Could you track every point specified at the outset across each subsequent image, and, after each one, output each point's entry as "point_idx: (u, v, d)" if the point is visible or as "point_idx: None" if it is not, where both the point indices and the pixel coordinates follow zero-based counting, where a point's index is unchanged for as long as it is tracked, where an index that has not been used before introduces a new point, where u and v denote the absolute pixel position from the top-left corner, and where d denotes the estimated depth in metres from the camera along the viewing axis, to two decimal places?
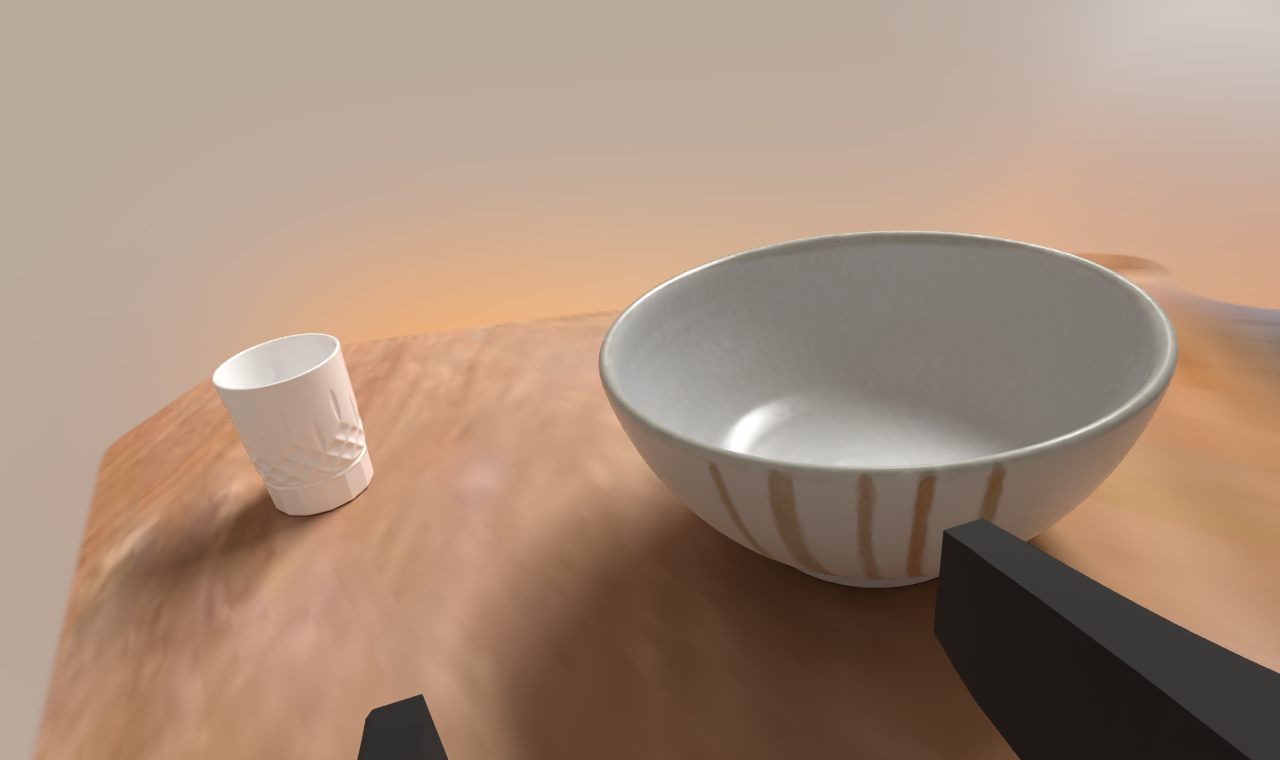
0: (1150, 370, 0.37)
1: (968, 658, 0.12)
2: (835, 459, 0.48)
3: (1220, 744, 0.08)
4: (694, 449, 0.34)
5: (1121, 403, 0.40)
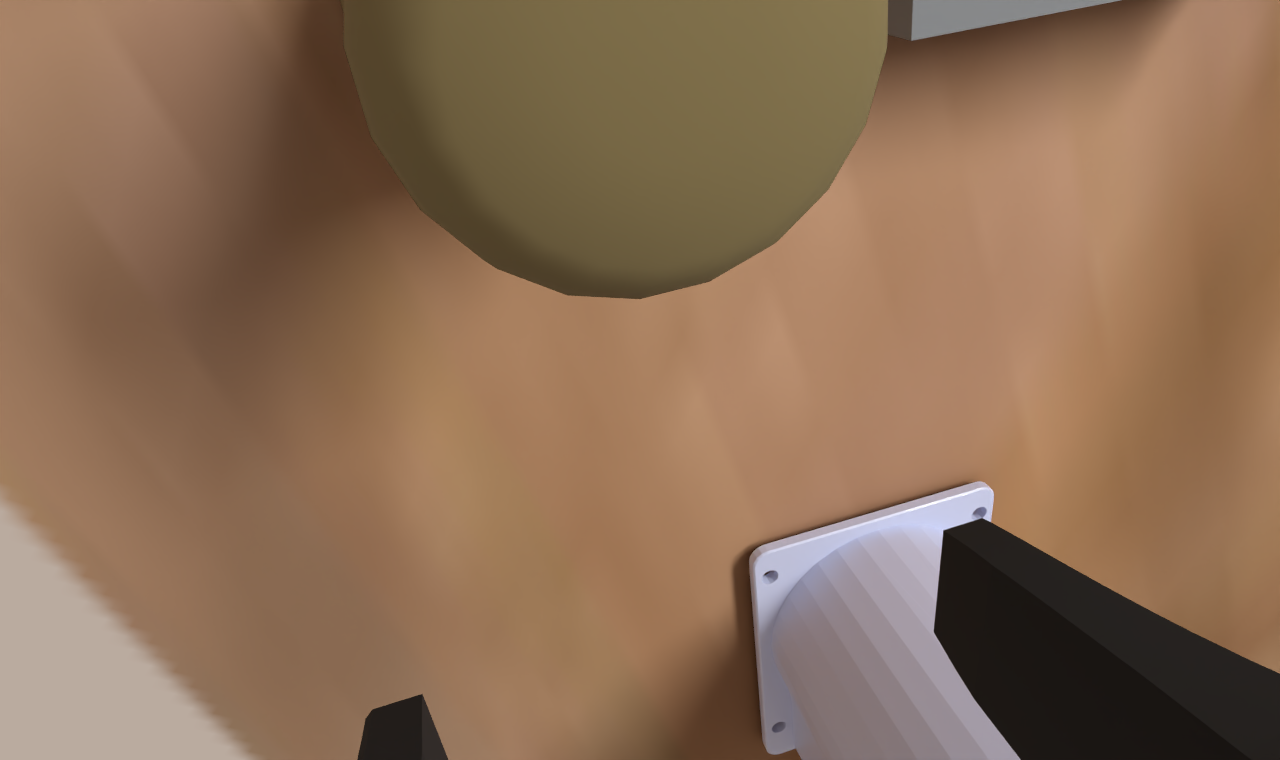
0: None
1: (968, 658, 0.12)
2: None
3: (1219, 743, 0.08)
4: None
5: None
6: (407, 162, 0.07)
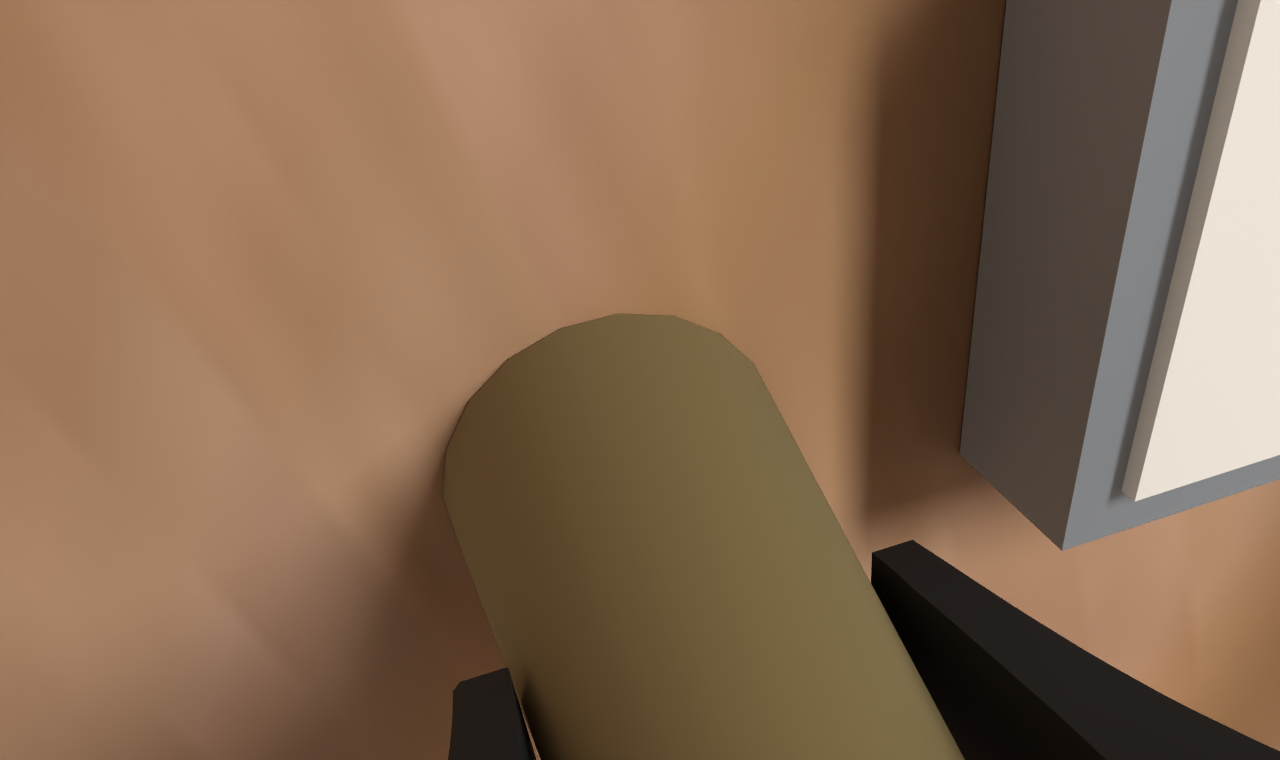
0: None
1: None
2: None
3: None
4: None
5: None
6: None
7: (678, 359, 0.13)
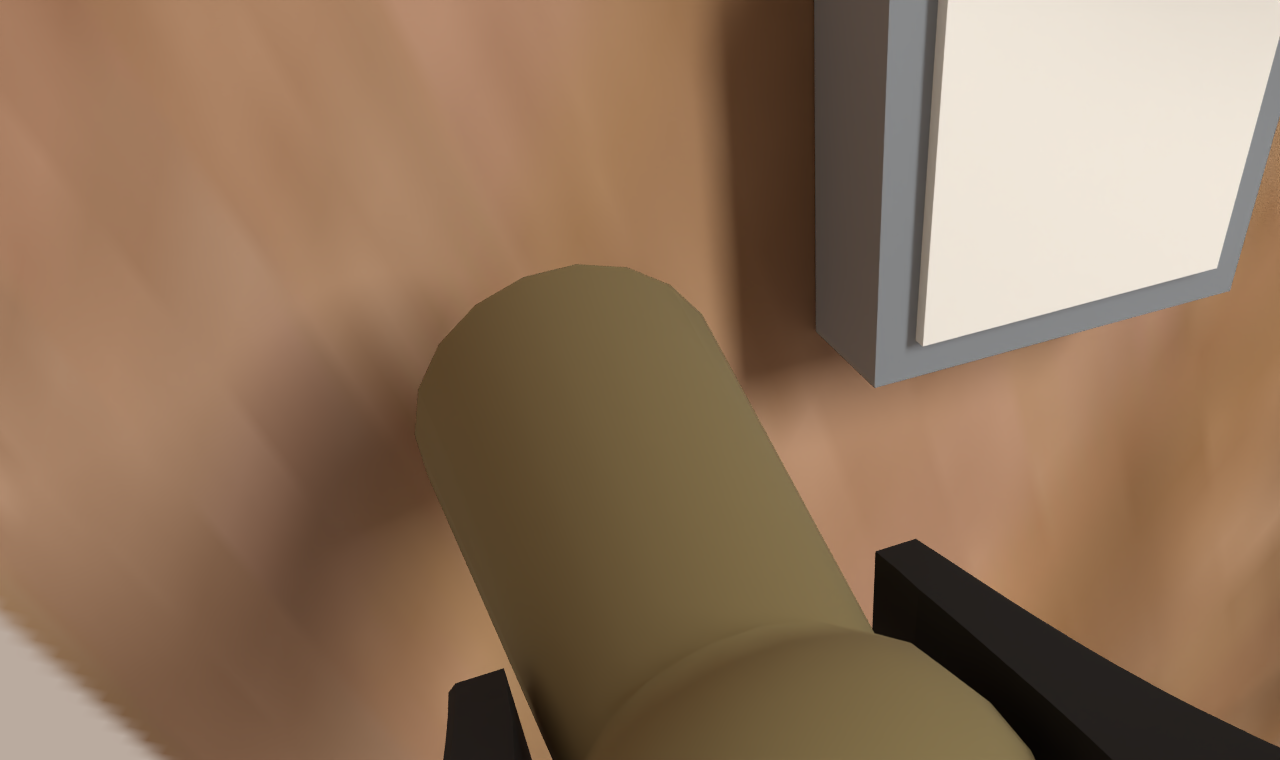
0: None
1: None
2: None
3: None
4: None
5: None
6: None
7: (630, 303, 0.14)
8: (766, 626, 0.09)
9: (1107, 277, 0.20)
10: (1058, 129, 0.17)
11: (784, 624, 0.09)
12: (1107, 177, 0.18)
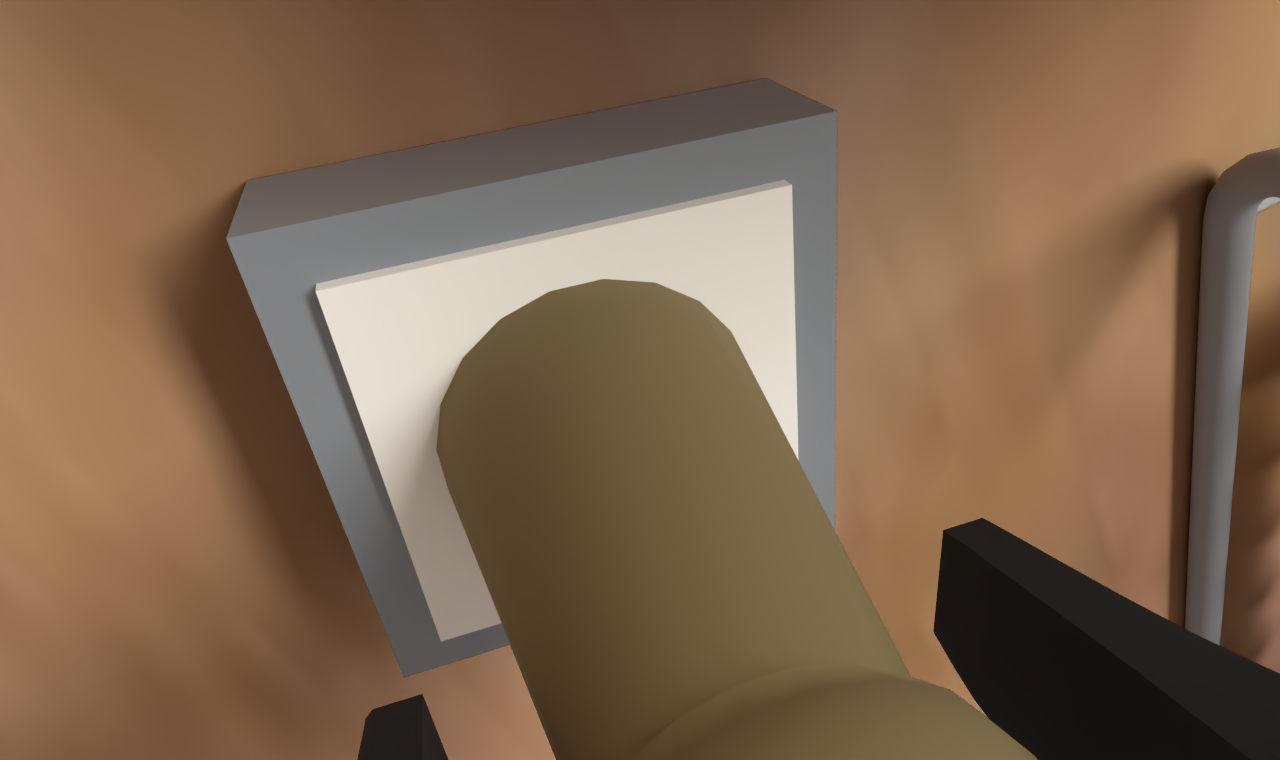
0: None
1: (968, 658, 0.12)
2: None
3: (1219, 744, 0.08)
4: None
5: None
6: None
7: (658, 320, 0.14)
8: (795, 668, 0.08)
9: None
10: None
11: (815, 666, 0.08)
12: None
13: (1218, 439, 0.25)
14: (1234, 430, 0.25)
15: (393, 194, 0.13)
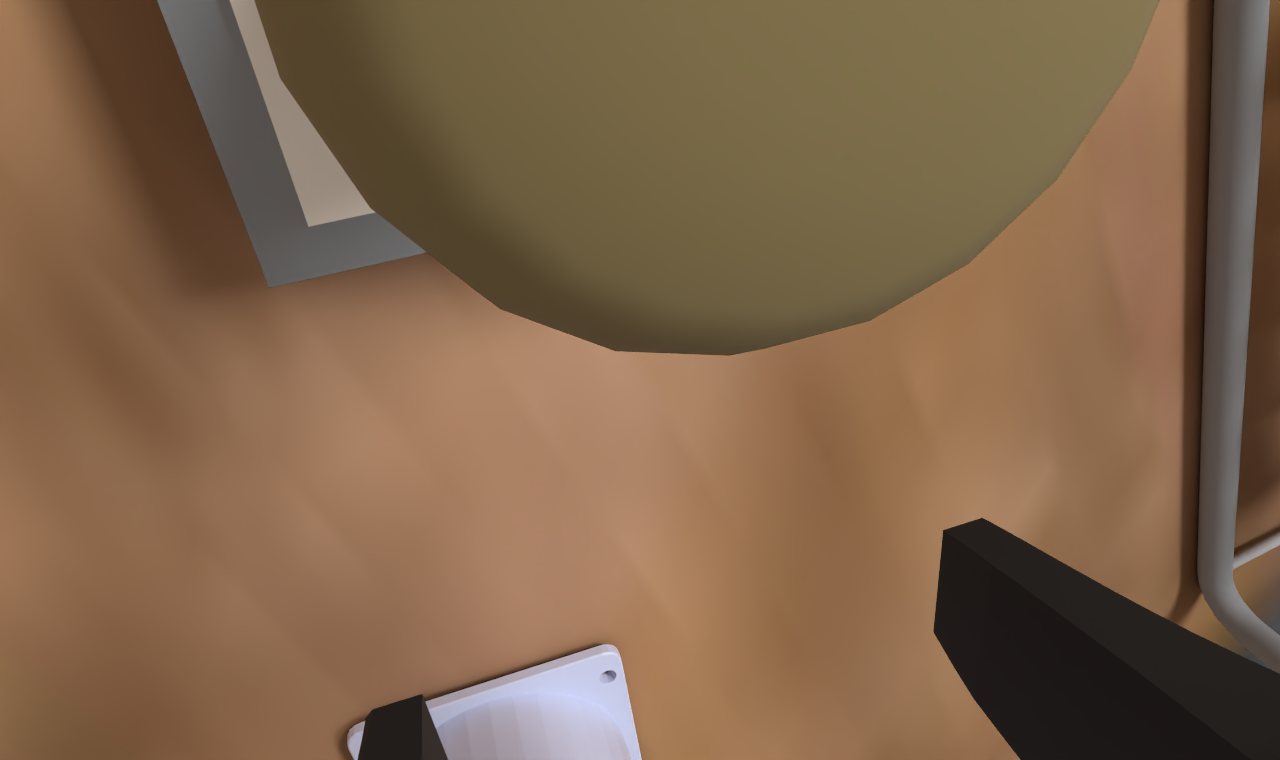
0: None
1: (968, 658, 0.12)
2: None
3: (1219, 744, 0.08)
4: None
5: None
6: (338, 118, 0.04)
7: None
8: None
9: None
10: None
11: None
12: None
13: (1238, 149, 0.22)
14: (1256, 137, 0.22)
15: None
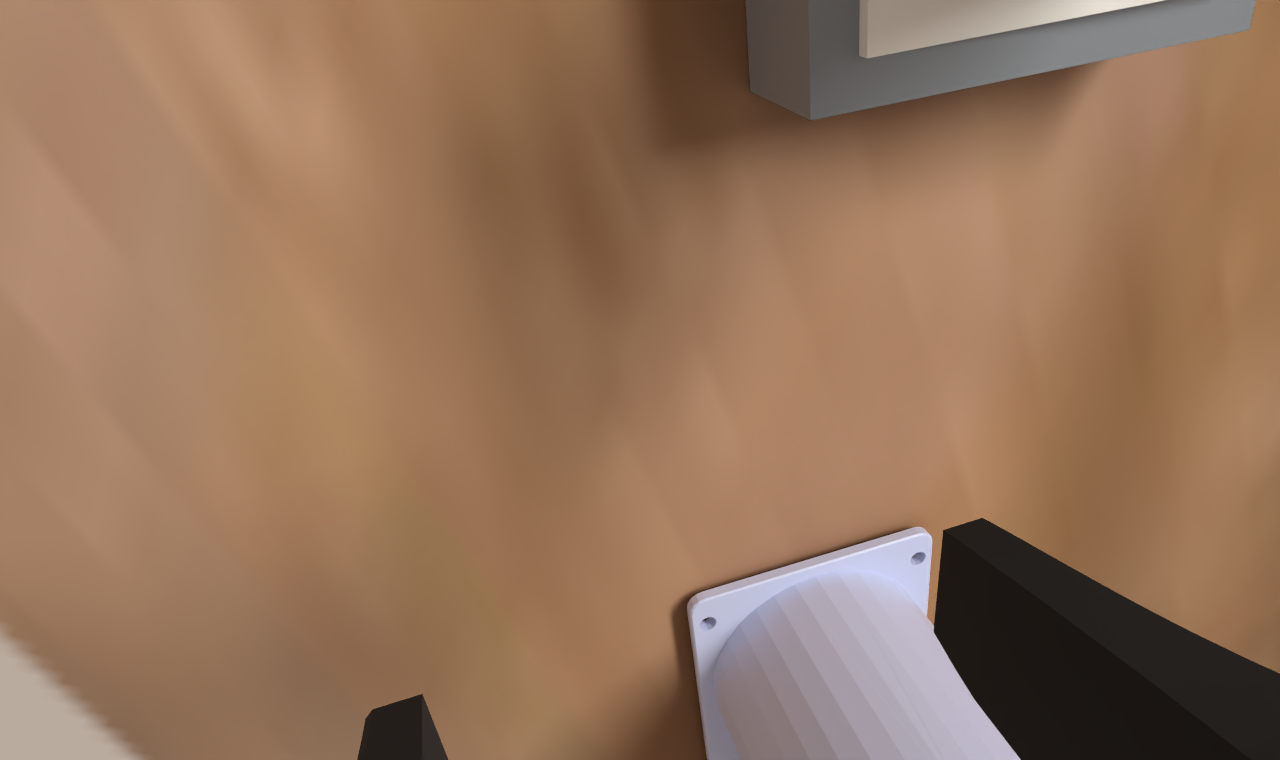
0: None
1: (968, 658, 0.12)
2: None
3: (1220, 744, 0.08)
4: None
5: None
6: None
7: None
8: None
9: None
10: None
11: None
12: None
13: None
14: None
15: None
